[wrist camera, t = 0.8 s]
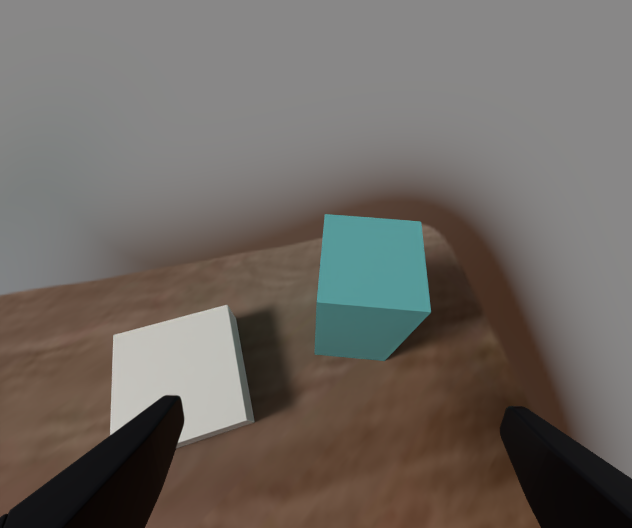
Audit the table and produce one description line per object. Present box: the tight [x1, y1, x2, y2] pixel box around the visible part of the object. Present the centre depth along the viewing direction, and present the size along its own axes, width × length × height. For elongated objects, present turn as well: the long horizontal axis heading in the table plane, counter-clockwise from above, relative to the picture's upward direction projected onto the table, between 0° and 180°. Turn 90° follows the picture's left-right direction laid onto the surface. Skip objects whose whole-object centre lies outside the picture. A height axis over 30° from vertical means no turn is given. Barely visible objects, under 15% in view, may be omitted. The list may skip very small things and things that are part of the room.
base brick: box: [110, 305, 255, 448], centre depth 21 cm, size 8×8×3 cm
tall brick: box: [315, 214, 431, 361], centre depth 20 cm, size 6×6×10 cm
